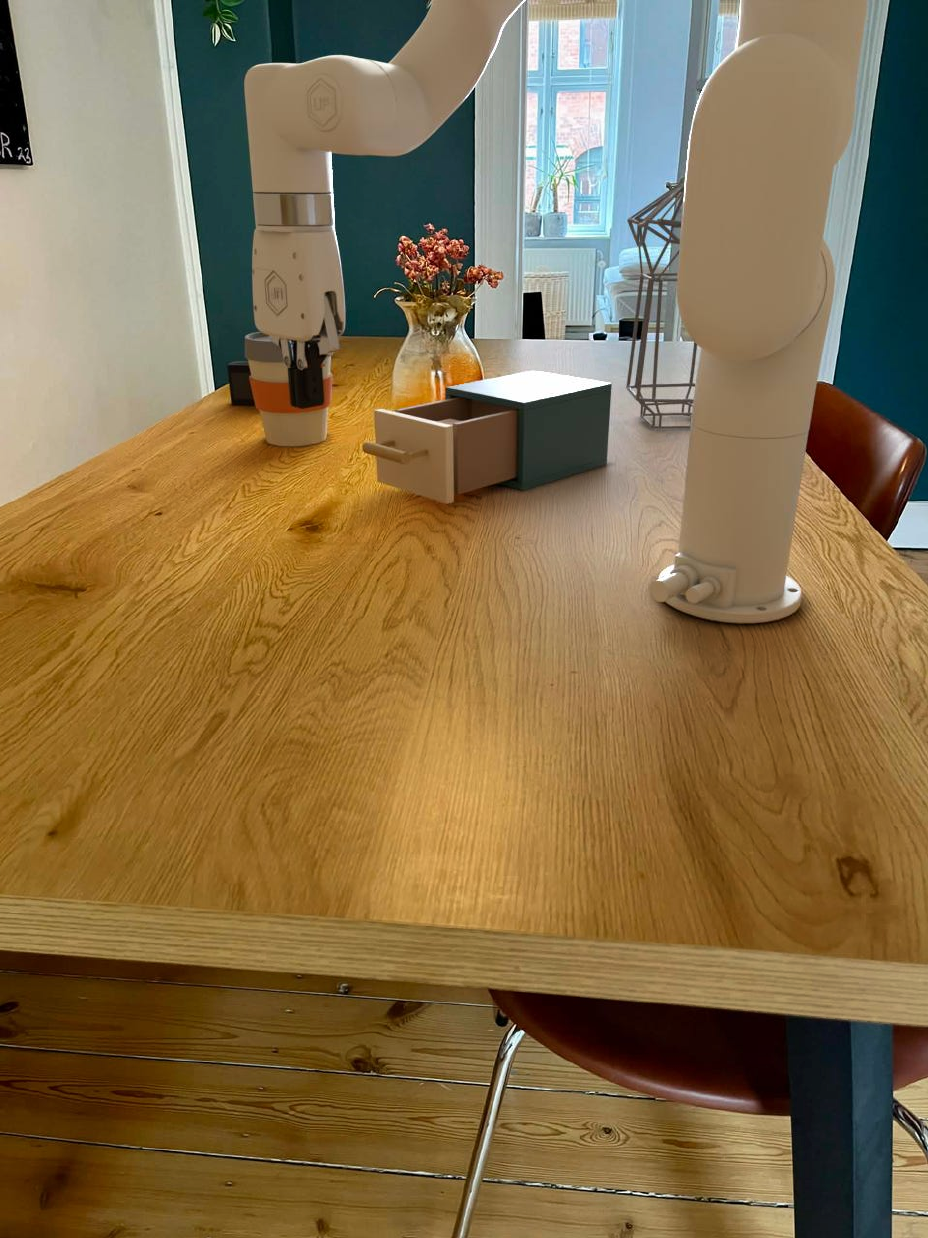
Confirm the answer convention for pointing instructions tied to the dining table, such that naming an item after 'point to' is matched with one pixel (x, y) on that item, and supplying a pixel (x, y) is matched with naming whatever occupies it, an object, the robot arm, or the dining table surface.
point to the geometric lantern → (641, 223)
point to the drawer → (445, 447)
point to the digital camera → (240, 383)
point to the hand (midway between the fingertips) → (307, 405)
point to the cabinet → (549, 422)
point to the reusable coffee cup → (283, 396)
